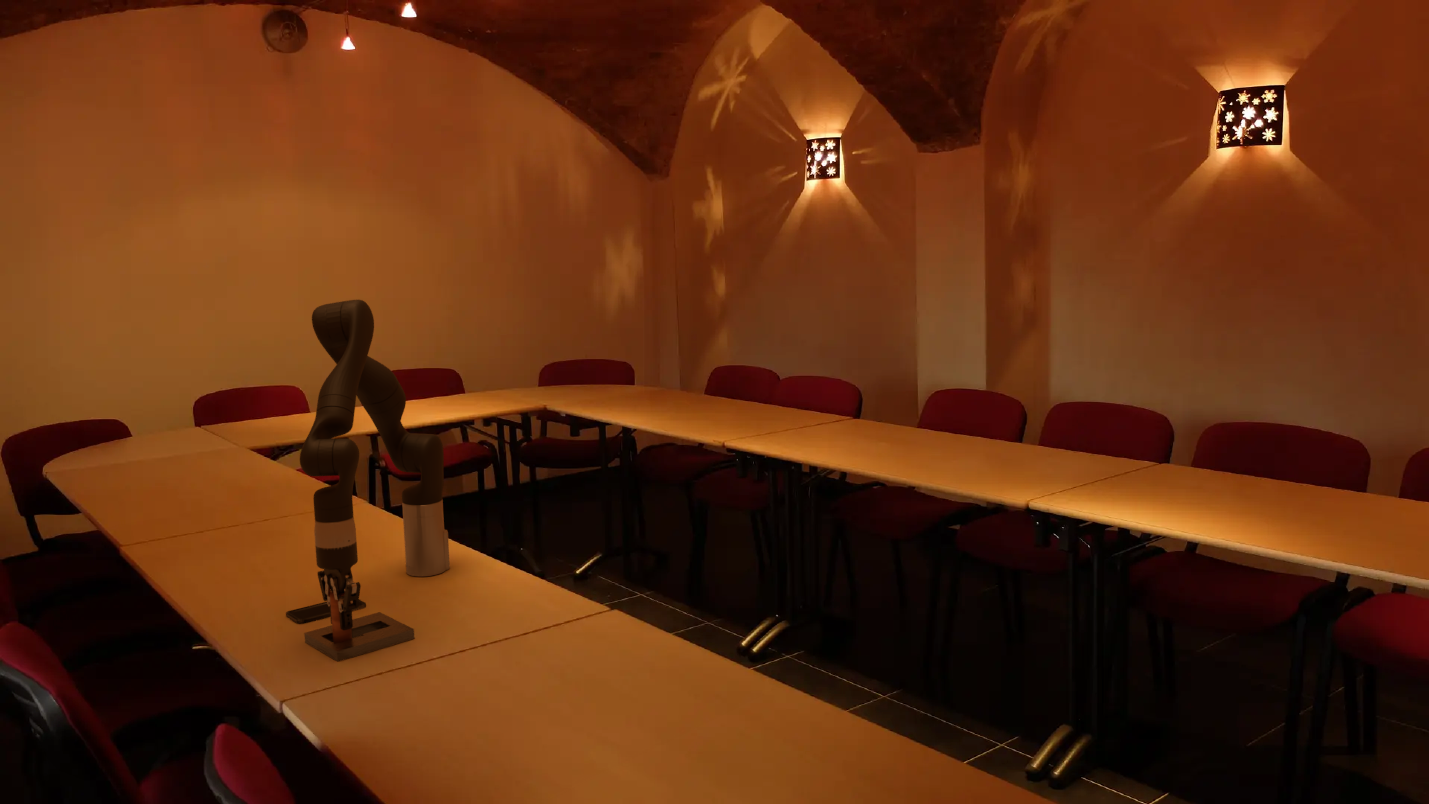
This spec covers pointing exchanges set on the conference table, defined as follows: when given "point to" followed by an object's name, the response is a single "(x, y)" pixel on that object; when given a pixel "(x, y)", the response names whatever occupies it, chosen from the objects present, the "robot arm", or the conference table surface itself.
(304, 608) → the phone
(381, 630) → the keyhole plate
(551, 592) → the conference table surface
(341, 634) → the peg
